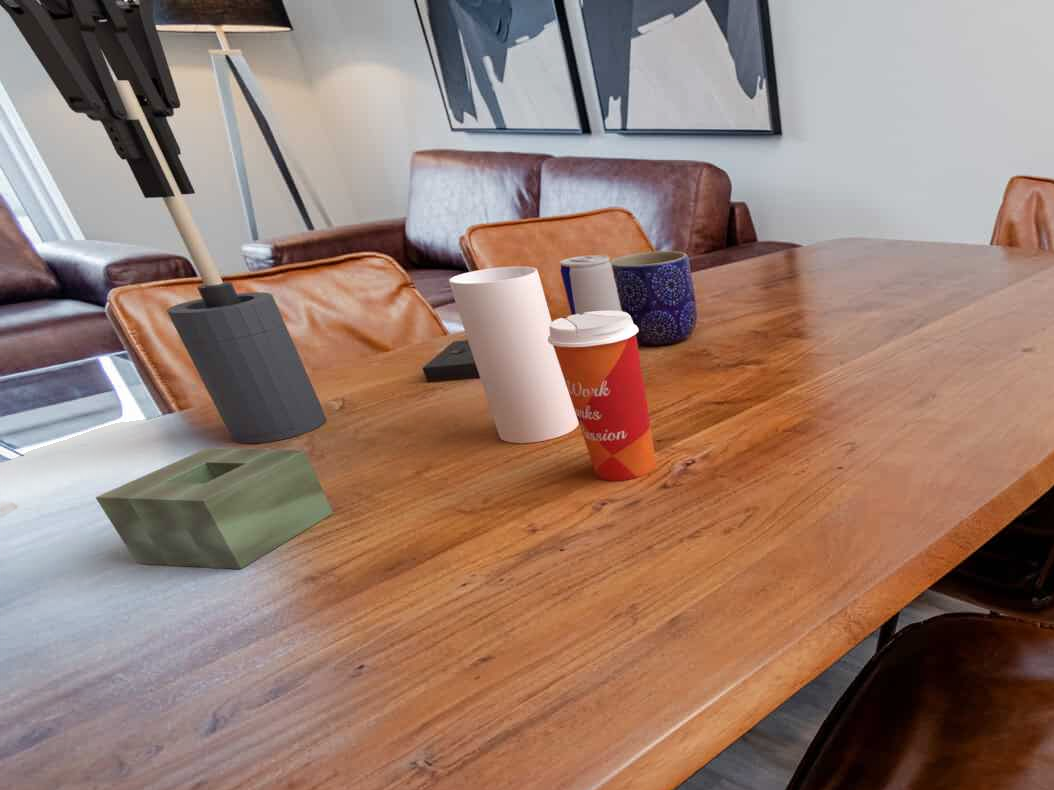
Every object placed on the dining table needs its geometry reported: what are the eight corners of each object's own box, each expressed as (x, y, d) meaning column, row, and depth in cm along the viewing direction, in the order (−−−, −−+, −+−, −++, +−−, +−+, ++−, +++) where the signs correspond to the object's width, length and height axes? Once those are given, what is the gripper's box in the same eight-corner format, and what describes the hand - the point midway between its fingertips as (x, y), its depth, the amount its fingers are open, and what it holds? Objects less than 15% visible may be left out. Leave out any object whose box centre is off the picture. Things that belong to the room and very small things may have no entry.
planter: (632, 333, 124) (615, 254, 118) (705, 327, 124) (691, 248, 118) (619, 353, 115) (599, 268, 109) (698, 346, 115) (683, 262, 109)
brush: (213, 337, 87) (88, 82, 75) (238, 329, 90) (121, 81, 77) (236, 337, 87) (113, 80, 74) (260, 329, 89) (145, 79, 77)
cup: (558, 411, 94) (517, 263, 86) (592, 427, 89) (551, 271, 81) (487, 431, 90) (436, 277, 81) (518, 449, 85) (466, 287, 76)
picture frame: (584, 343, 120) (457, 354, 118) (580, 327, 119) (452, 338, 117) (567, 369, 109) (427, 382, 107) (562, 352, 107) (420, 365, 106)
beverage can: (603, 381, 103) (572, 254, 95) (645, 381, 103) (617, 253, 95) (583, 395, 99) (548, 263, 91) (626, 395, 98) (596, 262, 90)
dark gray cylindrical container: (212, 443, 91) (143, 313, 83) (278, 414, 99) (220, 292, 91) (283, 444, 89) (220, 312, 82) (344, 415, 97) (292, 291, 90)
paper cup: (569, 472, 79) (527, 322, 71) (639, 447, 83) (606, 305, 76) (612, 493, 74) (572, 335, 67) (683, 465, 79) (653, 315, 71)
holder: (136, 564, 67) (94, 497, 64) (239, 509, 75) (206, 448, 72) (241, 569, 65) (203, 500, 62) (334, 513, 73) (304, 450, 70)
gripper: (-40, -140, 62) (132, 204, 74) (140, -106, 74) (262, 185, 87) (-118, -130, 63) (65, 207, 76) (72, -98, 75) (202, 188, 88)
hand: (170, 195), depth 81 cm, fingers closed on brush, 2 cm apart
